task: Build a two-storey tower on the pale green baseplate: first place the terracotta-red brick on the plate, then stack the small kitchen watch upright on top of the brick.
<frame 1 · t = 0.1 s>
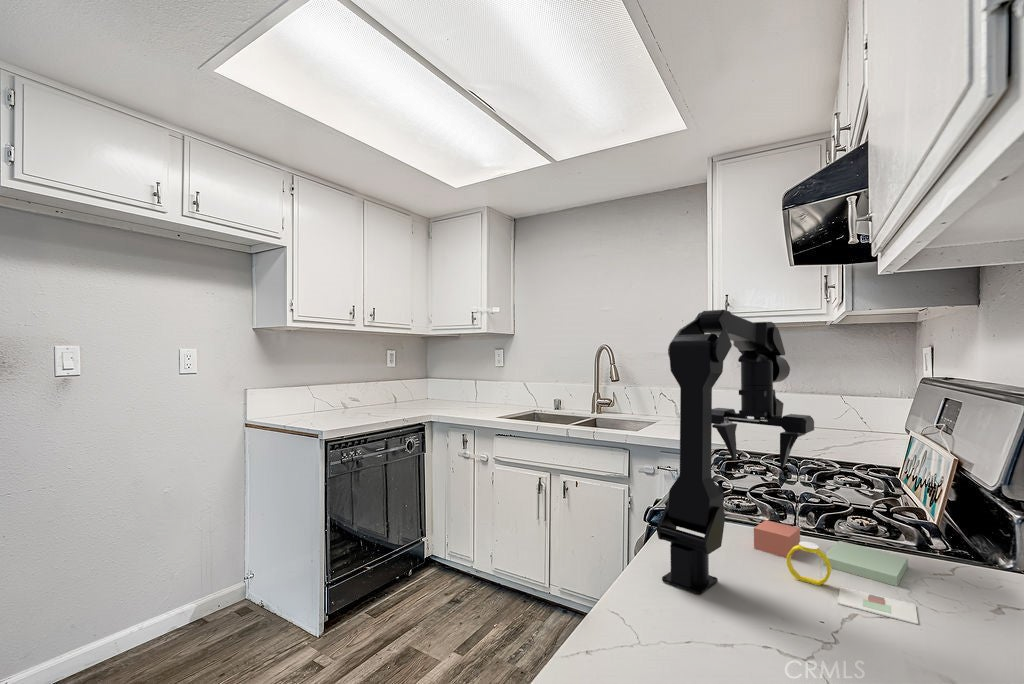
hand: (757, 462, 97), 14 cm above the countertop, tool pointing down, fingers open, 9 cm apart
instruction page: (876, 604, 70), on the countertop
brick: (777, 549, 90), on the countertop
baseplate: (865, 565, 83), on the countertop
watch: (808, 582, 78), on the countertop
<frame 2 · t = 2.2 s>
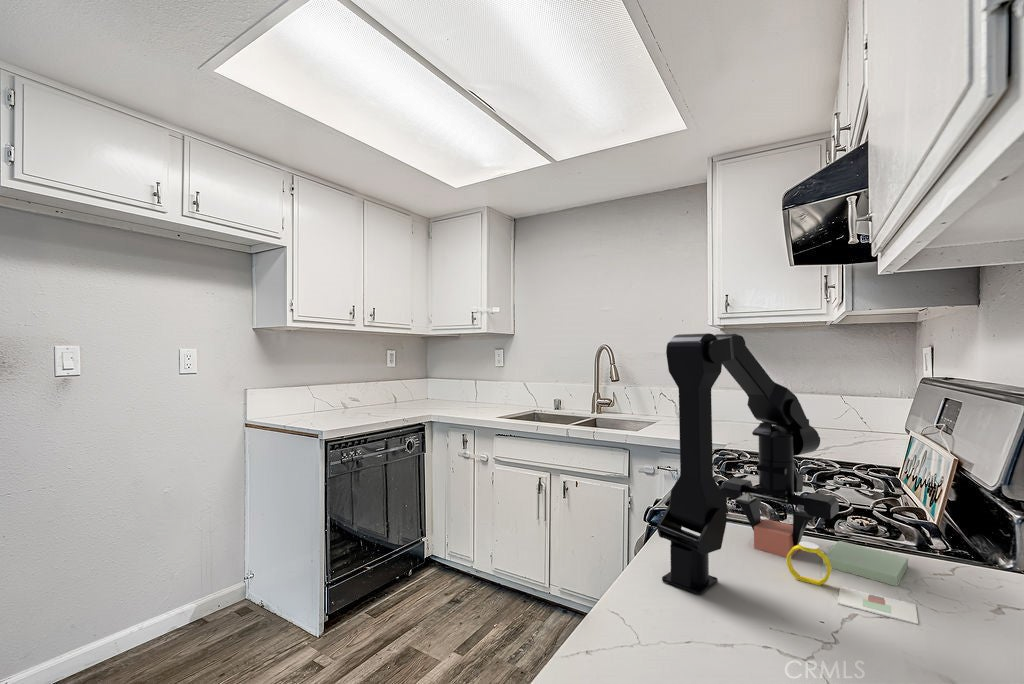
hand: (777, 542, 90), 1 cm above the countertop, tool pointing down, fingers closed on brick, 6 cm apart
brick: (777, 548, 90), on the countertop, touching gripper
everything else where it was.
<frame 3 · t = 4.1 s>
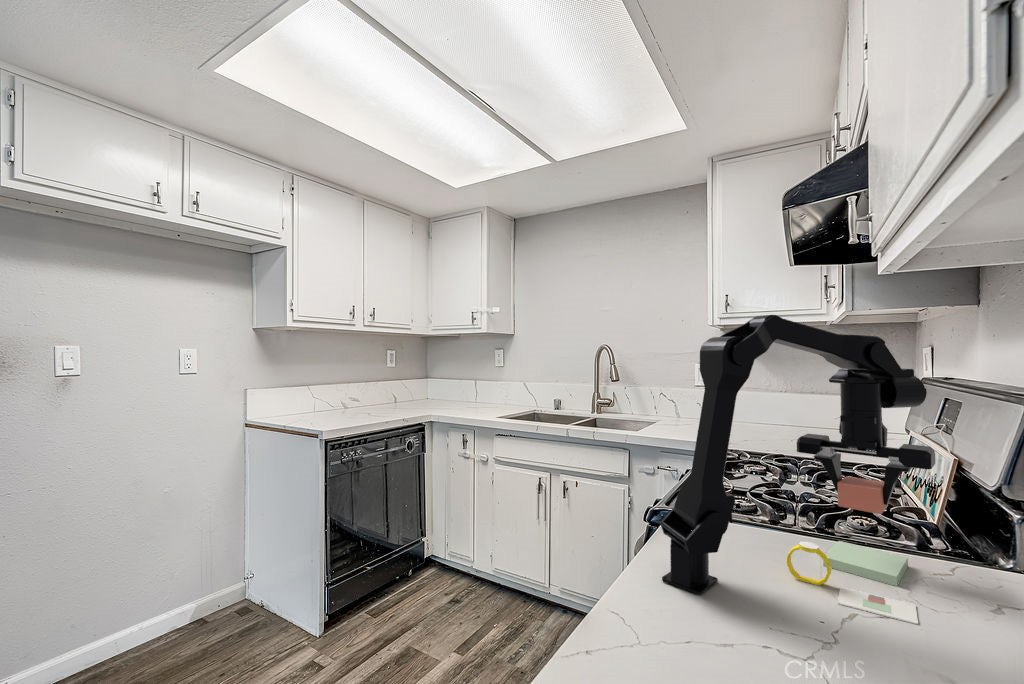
hand: (862, 500, 83), 11 cm above the countertop, tool pointing down, fingers closed on brick, 6 cm apart
brick: (863, 505, 83), point 10 cm above the countertop, touching gripper
everything else where it was.
when the fingers open (3 cm above the countertop, at t = 6.0 s): brick stays where it is, resting on baseplate.
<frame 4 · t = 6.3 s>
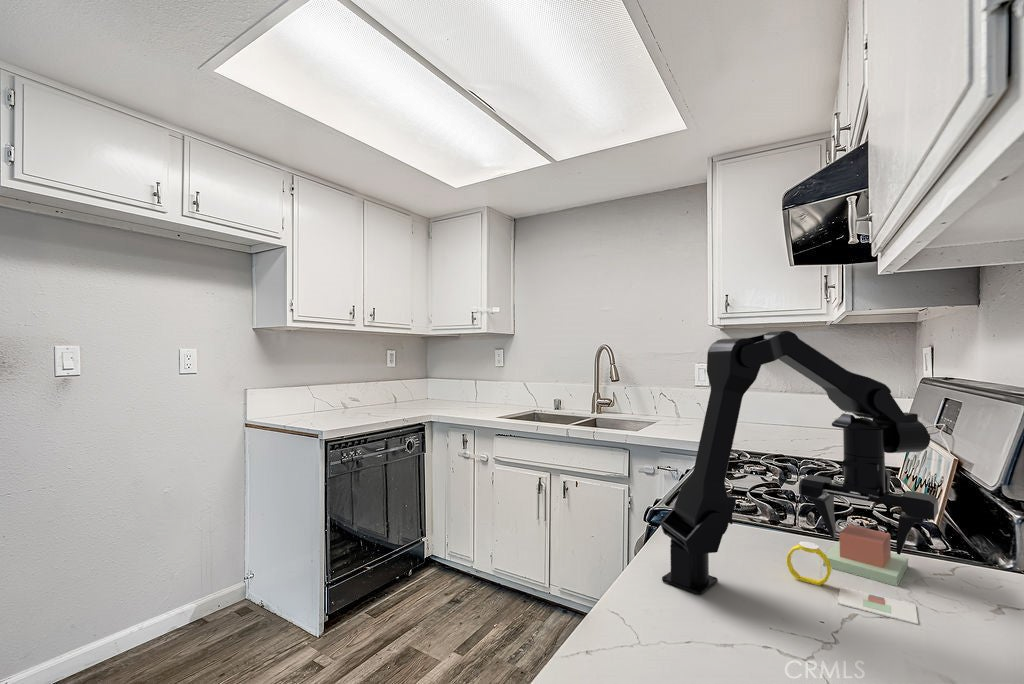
hand: (864, 545, 83), 3 cm above the countertop, tool pointing down, fingers open, 9 cm apart
brick: (865, 557, 83), point 1 cm above the countertop, touching baseplate
everything else where it was.
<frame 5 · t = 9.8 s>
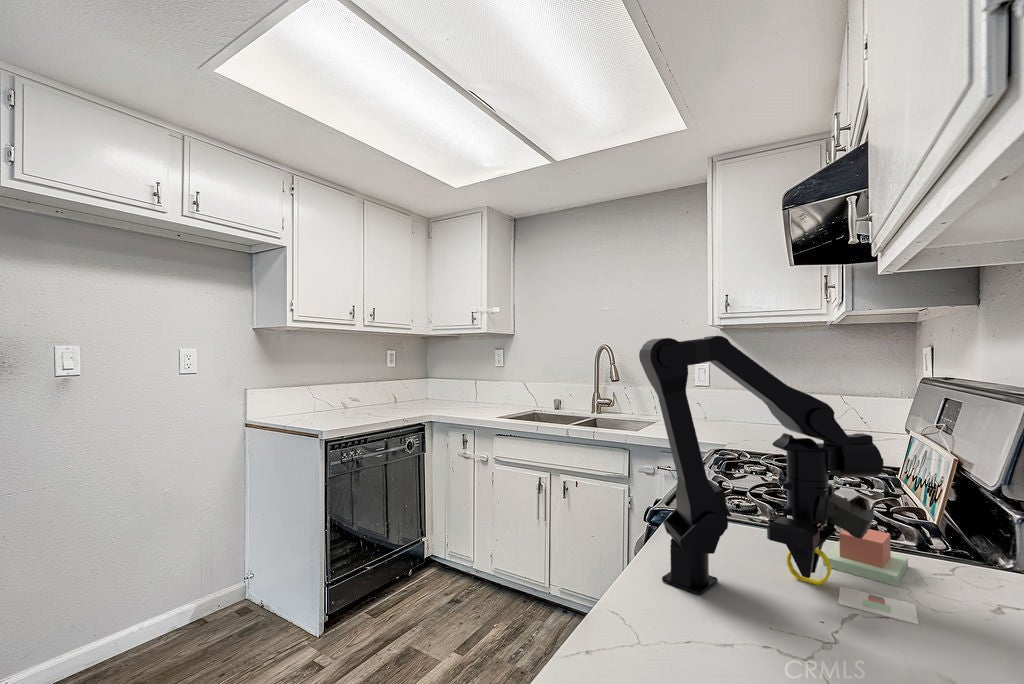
hand: (808, 574, 78), 1 cm above the countertop, tool pointing down, fingers closed on watch, 2 cm apart
watch: (808, 582, 78), on the countertop, touching gripper
everything else where it was.
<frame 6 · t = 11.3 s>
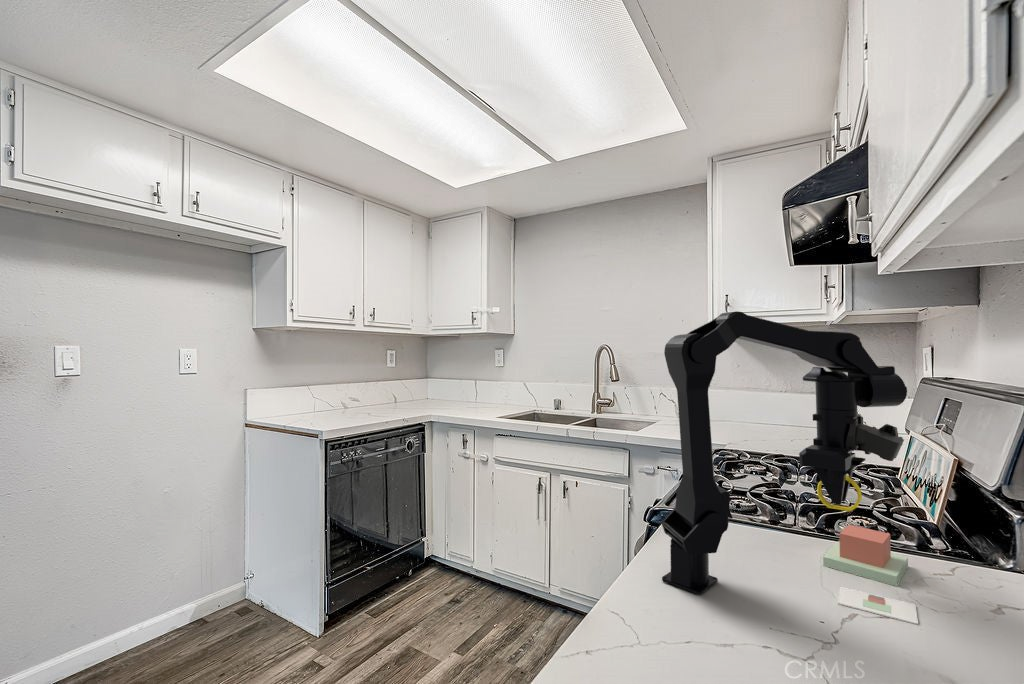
hand: (839, 502, 80), 12 cm above the countertop, tool pointing down, fingers closed on watch, 2 cm apart
watch: (839, 509, 80), point 10 cm above the countertop, touching gripper
everything else where it was.
when the fingers open (7 cm above the countertop, at t = 12.9 s): watch stays where it is, resting on brick.
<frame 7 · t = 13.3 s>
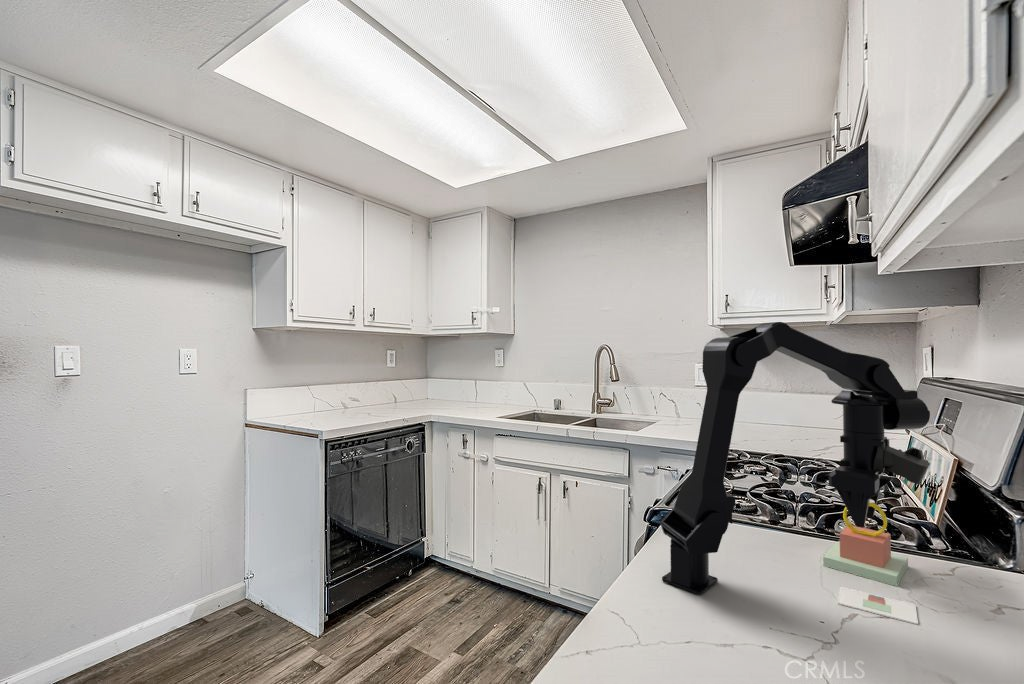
hand: (864, 522, 83), 7 cm above the countertop, tool pointing down, fingers open, 6 cm apart
brick: (865, 557, 83), point 1 cm above the countertop, touching baseplate, watch
watch: (864, 535, 83), point 5 cm above the countertop, touching brick
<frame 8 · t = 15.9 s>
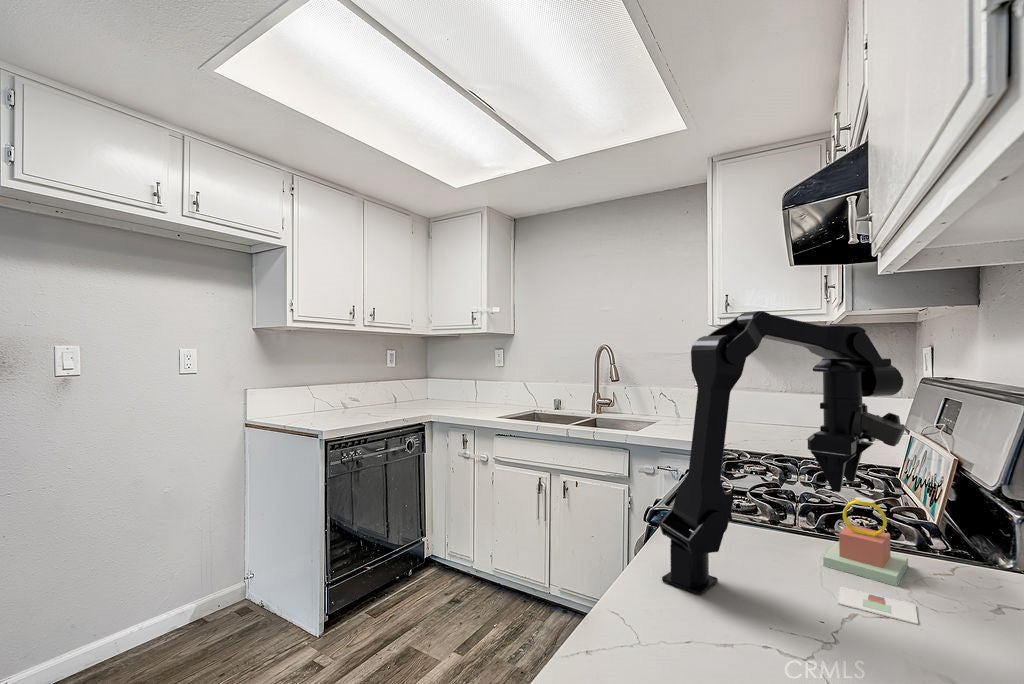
hand: (843, 486, 85), 13 cm above the countertop, tool pointing down, fingers open, 9 cm apart
nothing on the countertop moved.
at the end: brick inside the target area on the baseplate (0.1 cm from its centre), point 1.5 cm above the baseplate's base; watch 0.1 cm off-centre on the brick, point 3.8 cm above the brick's base; watch tilted 0° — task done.
